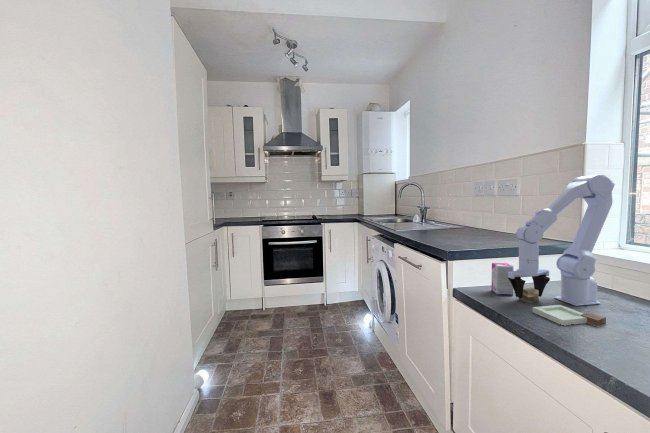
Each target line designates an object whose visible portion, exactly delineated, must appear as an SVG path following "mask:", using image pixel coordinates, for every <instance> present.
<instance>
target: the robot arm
mask: <svg viewBox="0 0 650 433" xmlns="http://www.w3.org/2000/svg"><path fill="white" fill-rule="evenodd" d="M615 185H616V184H615V183H614V182H613V180H612V179H611V177H610V176H608V175H607V174H602V173H601V174H600V173H599V174H594V175H587V176H577V177H574V179H573V180H571V182H569V183H568V184H567V186H566V187H565V188H564V190H563V191H562V192H561V193H560V194H559V195H558V196H557V197H556V198H555V200H554V201H553V202H552V203H551V204H550V205H549V206H548V207H547V208H542V209H541V208H540V210H537V211H535V213H534V214H535V215H533V216H532V218H531V219H529V220H527V221H525V224H524V225H520V226H519V227H518V228H517V229H516V232H515V233H514V234H515V237H516V239H517V240H518V268H517V269H516V270H513V271H512V272H508V279H509V281H510V282H511V284H512V286H513V292H514V294H515V297H516V298H518V299H519V298H522V296H523V287H525V283H526V280H525V279H522V278H528V277H529V278H530V277H531V279H532V282H533V288H534V289H537V290H539V298H541V297H542V296H543V293H544V290H545V288H546V285H547V284H548V283H549V282H550V280H551V279H550V277H549V276H550V270H549V269H544V268H543V269H539V267H540V265H539V264H540V262H539V258H540V255H539V254H540V253H539V251H540V250H539V248H540V247H539V246H540V244H539V242H540V241H542V240H543V238H544V233H545V232H546V231H547V230H548V229H549V228H550V227H551V226H552V225H553V224H554V223H556V222H557V221H558V214H559V213H561V212H562V211H563V210H564V209H565V208H567V207H568V206H569V205H570V204H572V203H573V202H574V201H575V200H576V199H579V198H581V199H583V200H584V202H586V204H587V207H586V210H585V212H584V215H583V217H582V219H581V222H580V223H579V224H580V225H579V227H578V229H577V232H576V234H575V237H574V239H573V242H572V244H571V246H570V247H568V248H567V249H565V250H563V253H562V254H561V255H560V256H559V257H558V258H557V260H556V262H555V263H556V268H557V269H558V270H559V271H560V296H558V295H557V296H554V299H556V300H559V301H561V302H565V303H567V304H569V305H573V306H576V307H579V306H588V305H589V306H590V305H600V304H601V302H600V301H599V300H598V283H597V281H596V279H595V278H593V277H592V276H594V274H595V271H596V266H595V265H596V262H597V259H596V257H595V256H594V254H593V250H594V247H595V246H596V244H597V240H598V239H599V236H600V234H601V231H602V229H603V227H604V224H605V222H606V220H607V218H608V215H609V213H610V210H611V208H612V206H613V203H614V202H613V190H614V188H615Z"/></svg>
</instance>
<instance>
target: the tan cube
mask: <svg viewBox="0 0 650 433" xmlns="http://www.w3.org/2000/svg"><path fill="white" fill-rule="evenodd" d="M518 299H519V300H520V301H522V302H525V303H527V304H535V303H539V299H540V297H539V290H537V289H534V287H530V286H524V287H523V296H522V298H518Z"/></svg>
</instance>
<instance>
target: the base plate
mask: <svg viewBox="0 0 650 433" xmlns="http://www.w3.org/2000/svg"><path fill="white" fill-rule="evenodd" d="M532 313H534V314H535V315H537V316H541V317H543V318H545V319H547V320H550V321H552V322H554V323H556V324H558V325H560V324H561V325H560V326H562V325H564V326H572V325H571V324H574V325H580V324H588V323H587V318H586V317H583V316H581V314H584V312H581V311H578V310H576V309H573V308H570V307H567V306H564V305H562V304H552V305H541V306H533V307H532Z"/></svg>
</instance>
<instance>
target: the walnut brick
mask: <svg viewBox="0 0 650 433" xmlns="http://www.w3.org/2000/svg"><path fill="white" fill-rule="evenodd" d="M581 316H583V317H586V318H587V323H586V324H588V325H591V326H594V325H595V327H597V326H599V327H601V325H602V326H605V325H606V324H607V317H606V316H603V315H601V314H597V313H593V312H590V311H587V312H583V314H581Z"/></svg>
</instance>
